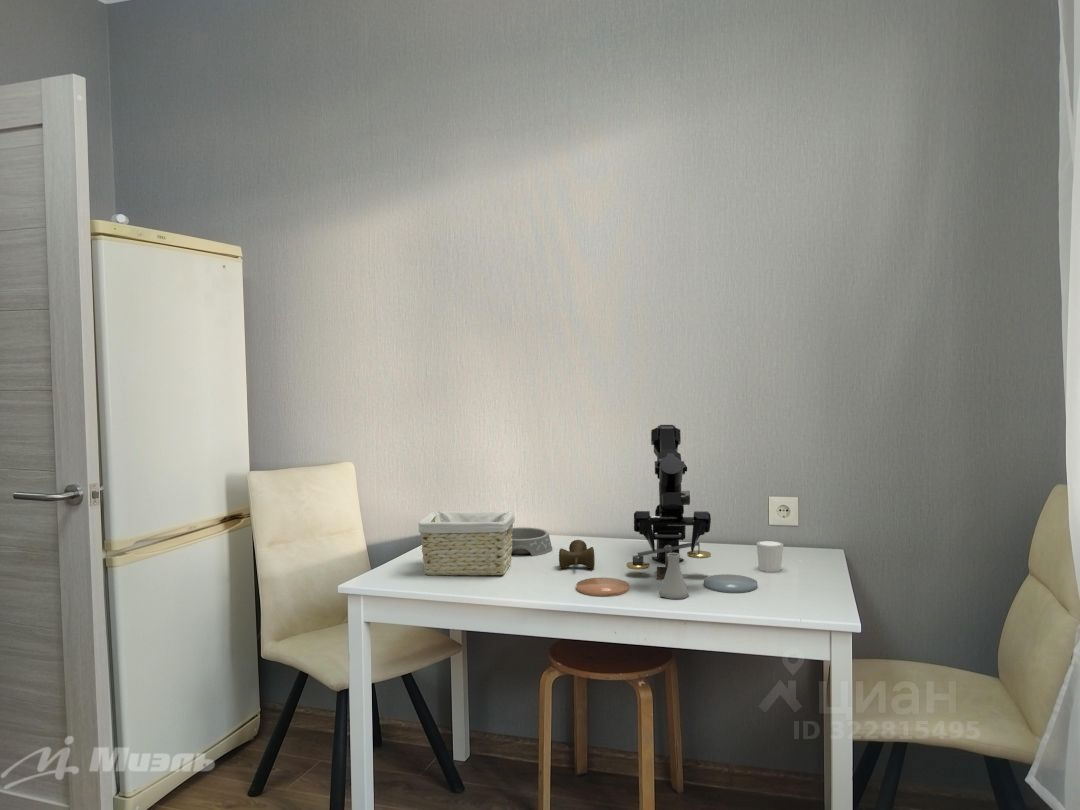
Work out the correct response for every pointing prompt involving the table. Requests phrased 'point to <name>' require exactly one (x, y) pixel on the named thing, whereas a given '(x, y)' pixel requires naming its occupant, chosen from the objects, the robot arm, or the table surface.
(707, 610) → the table surface
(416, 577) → the table surface
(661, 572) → the balance
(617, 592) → the terracotta dish
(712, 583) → the slate dish
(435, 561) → the storage basket
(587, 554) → the kendama
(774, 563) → the white cup
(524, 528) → the dog bowl
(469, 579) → the table surface
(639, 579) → the table surface
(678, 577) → the flask
